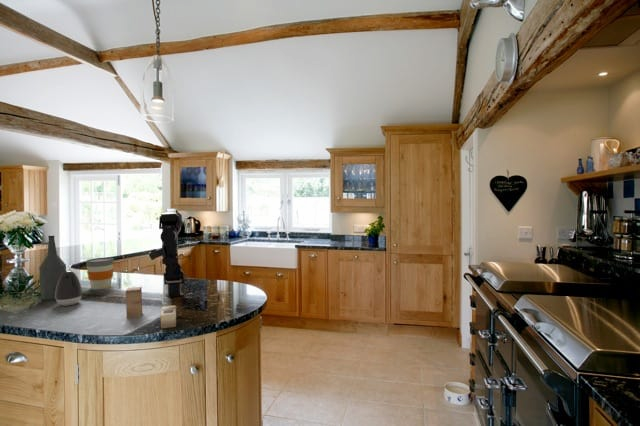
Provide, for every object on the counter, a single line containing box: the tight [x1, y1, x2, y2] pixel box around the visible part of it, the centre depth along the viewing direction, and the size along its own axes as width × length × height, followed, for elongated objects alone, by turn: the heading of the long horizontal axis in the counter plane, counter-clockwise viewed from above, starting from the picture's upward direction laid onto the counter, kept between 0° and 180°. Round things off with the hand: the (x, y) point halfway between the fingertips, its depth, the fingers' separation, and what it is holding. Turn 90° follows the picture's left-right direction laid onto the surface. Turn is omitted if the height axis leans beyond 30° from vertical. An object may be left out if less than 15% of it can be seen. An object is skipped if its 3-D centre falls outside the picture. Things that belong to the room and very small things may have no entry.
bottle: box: [38, 235, 67, 301], centre depth 172 cm, size 10×10×30 cm
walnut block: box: [125, 286, 143, 319], centre depth 145 cm, size 5×5×11 cm
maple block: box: [160, 305, 177, 329], centre depth 136 cm, size 5×5×11 cm
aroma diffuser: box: [54, 270, 83, 307], centre depth 161 cm, size 10×10×15 cm
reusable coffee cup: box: [85, 257, 115, 290], centre depth 190 cm, size 13×13×15 cm
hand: (171, 277), depth 155 cm, fingers closed
